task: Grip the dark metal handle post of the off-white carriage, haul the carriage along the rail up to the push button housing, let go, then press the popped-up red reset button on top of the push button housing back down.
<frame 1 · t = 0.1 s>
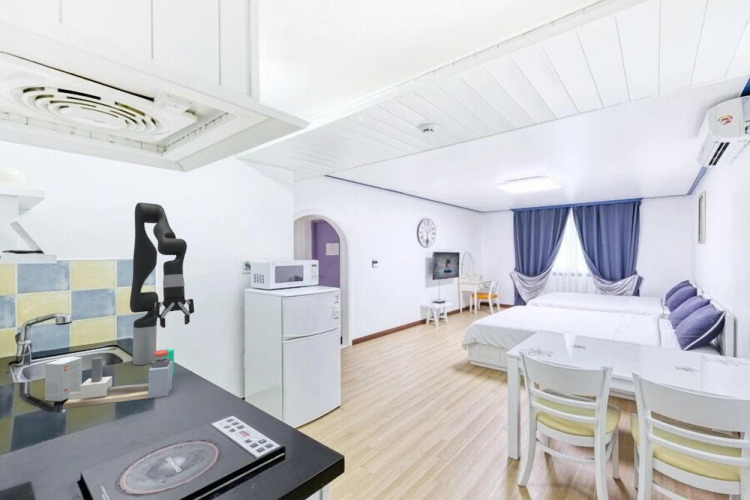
hand: (175, 326, 139), 22 cm above the countertop, tool pointing down, fingers open, 8 cm apart
candle: (165, 375, 145), on the countertop
reset button: (161, 356, 128), point 14 cm above the countertop, slide at 0.0 cm
carriage: (97, 376, 121), point 8 cm above the countertop, slide at 0.0 cm
small box: (63, 397, 123), on the countertop
rail: (111, 398, 122), on the countertop
push button housing: (160, 392, 128), on the countertop
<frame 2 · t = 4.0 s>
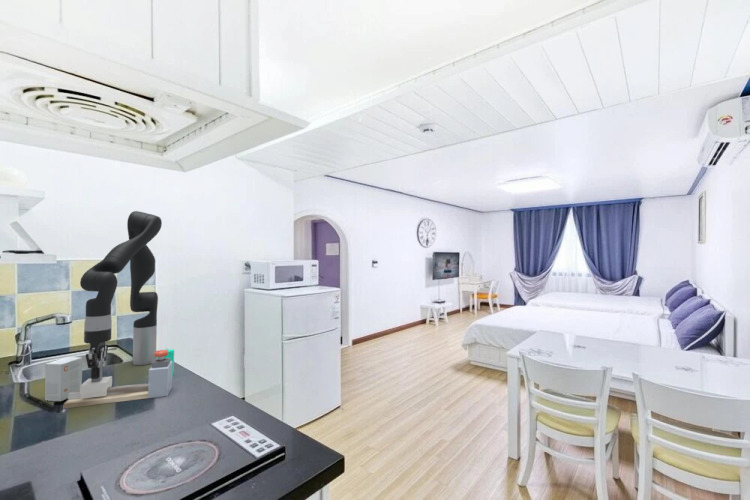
hand: (97, 376, 121), 8 cm above the countertop, tool pointing down, fingers closed on carriage, 2 cm apart
carriage: (97, 376, 121), point 8 cm above the countertop, slide at 0.0 cm, touching gripper
everything else where it was.
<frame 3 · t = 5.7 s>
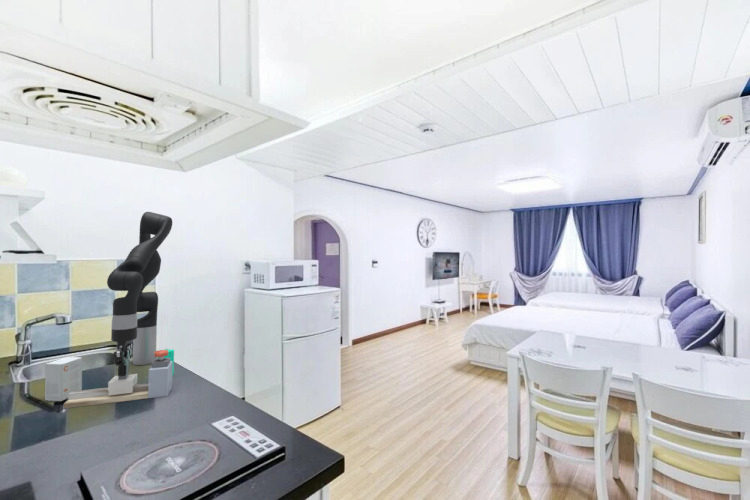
hand: (123, 374, 124), 8 cm above the countertop, tool pointing down, fingers closed on carriage, 2 cm apart
carriage: (123, 373, 124), point 8 cm above the countertop, slide at 7.8 cm, touching gripper
everything else where it was.
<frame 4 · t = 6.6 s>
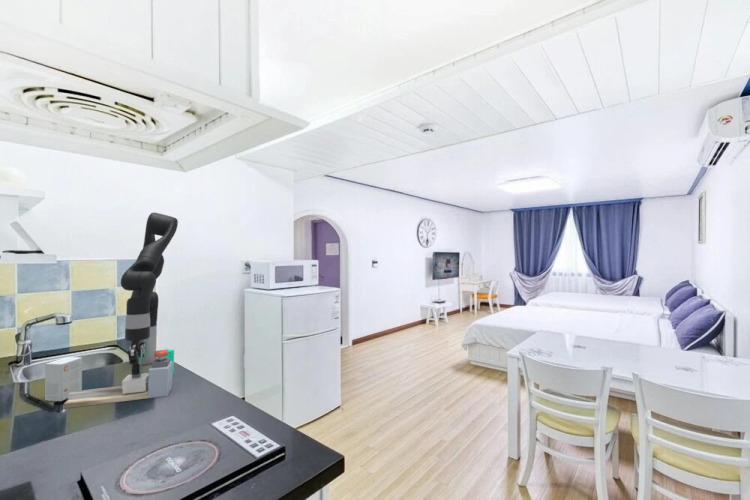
hand: (136, 372, 125), 8 cm above the countertop, tool pointing down, fingers closed on carriage, 2 cm apart
carriage: (136, 372, 125), point 8 cm above the countertop, slide at 11.9 cm, touching gripper
everything else where it was.
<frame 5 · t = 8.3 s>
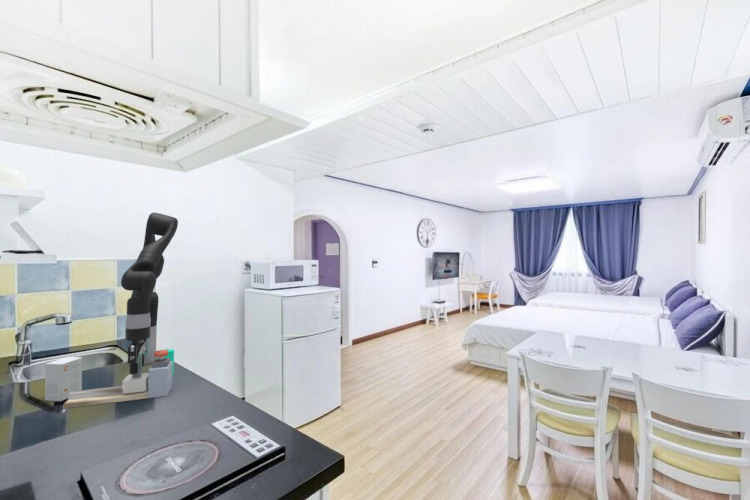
hand: (137, 370, 125), 9 cm above the countertop, tool pointing down, fingers open, 8 cm apart
carriage: (137, 372, 125), point 8 cm above the countertop, slide at 11.9 cm
everything else where it was.
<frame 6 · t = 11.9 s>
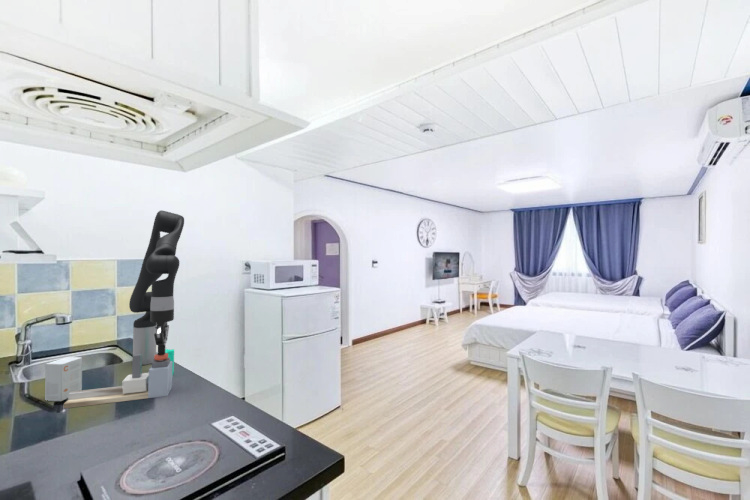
hand: (161, 354, 128), 14 cm above the countertop, tool pointing down, fingers closed
reset button: (161, 359, 128), point 12 cm above the countertop, slide at 1.2 cm, touching gripper
everything else where it was.
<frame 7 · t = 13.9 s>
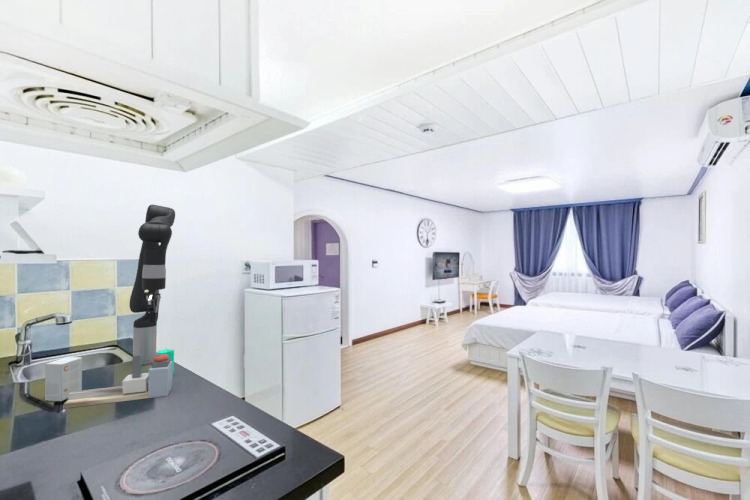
hand: (152, 322, 130), 26 cm above the countertop, tool pointing down, fingers closed
reset button: (161, 360, 128), point 12 cm above the countertop, slide at 1.6 cm
everything else where it was.
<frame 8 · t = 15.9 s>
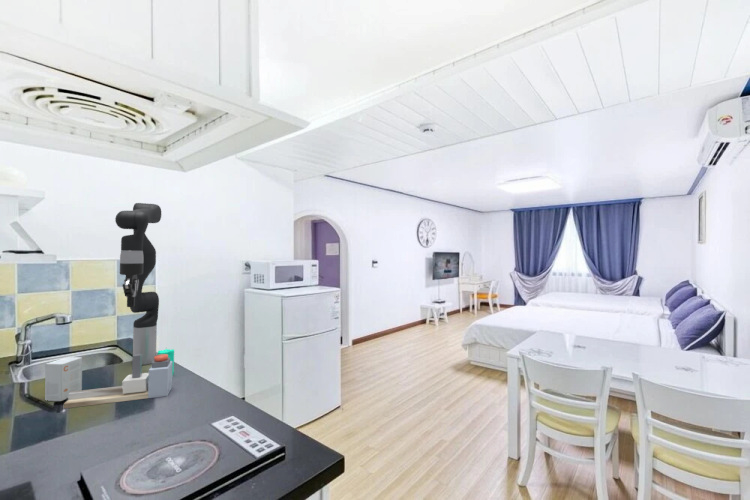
hand: (130, 306, 133), 31 cm above the countertop, tool pointing down, fingers closed
nothing on the countertop moved.
at the end: carriage slide at 11.9 cm; reset button slide at 1.6 cm; the gripper is holding nothing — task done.
